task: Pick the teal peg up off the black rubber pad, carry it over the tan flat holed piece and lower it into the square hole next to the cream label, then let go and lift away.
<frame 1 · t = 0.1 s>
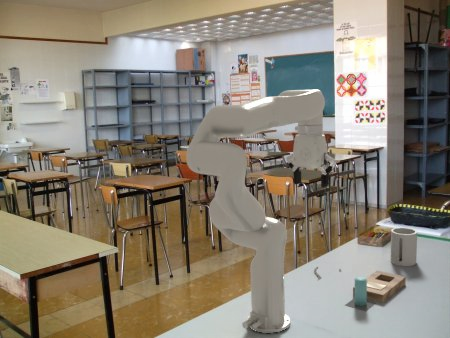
hand: (310, 185, 157), 37 cm above the table, tool pointing down, fingers open, 9 cm apart
cup: (403, 262, 190), on the table
pliers: (328, 279, 177), on the table
tan flat holed piece: (379, 290, 165), on the table
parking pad: (360, 305, 155), on the table
peg: (360, 304, 155), point 1 cm above the table, touching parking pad
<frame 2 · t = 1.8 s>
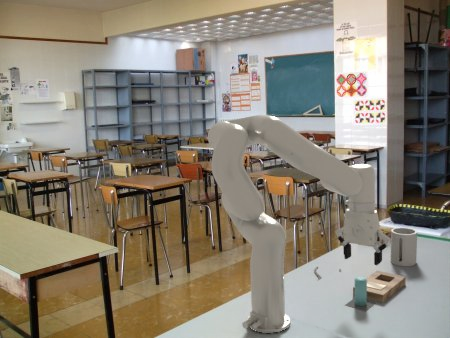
hand: (362, 260, 152), 14 cm above the table, tool pointing down, fingers open, 9 cm apart
nothing on the table moved.
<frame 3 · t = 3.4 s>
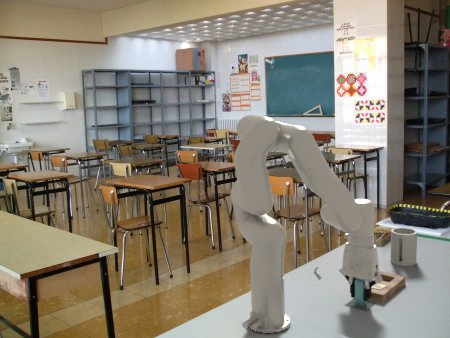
hand: (360, 297, 154), 3 cm above the table, tool pointing down, fingers closed on peg, 3 cm apart
peg: (360, 304, 155), point 1 cm above the table, touching gripper, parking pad
everything else where it was.
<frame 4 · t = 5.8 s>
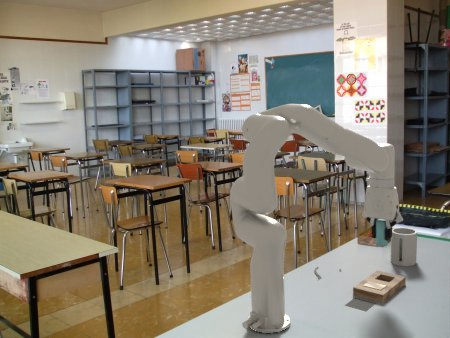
hand: (381, 237, 162), 18 cm above the table, tool pointing down, fingers closed on peg, 3 cm apart
peg: (381, 244, 163), point 16 cm above the table, touching gripper
everything else where it was.
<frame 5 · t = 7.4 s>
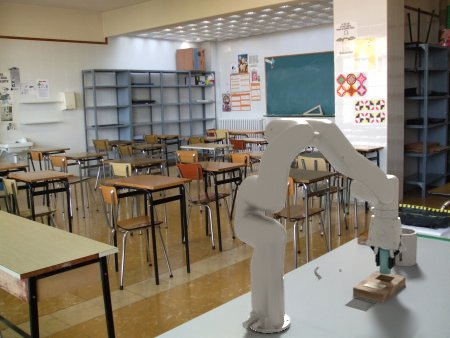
hand: (385, 266, 167), 7 cm above the table, tool pointing down, fingers closed on peg, 3 cm apart
peg: (385, 272, 167), point 5 cm above the table, touching gripper
everything else where it was.
when the fingers open (4 cm above the table, at t = 8.3 s): peg drops 2 cm, resting in tan flat holed piece.
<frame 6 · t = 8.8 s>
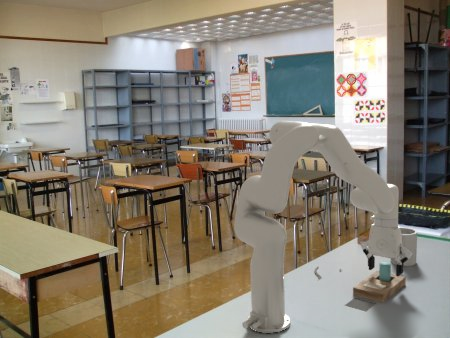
hand: (385, 271, 167), 5 cm above the table, tool pointing down, fingers open, 9 cm apart
peg: (384, 286, 168), resting in tan flat holed piece
everything else where it was.
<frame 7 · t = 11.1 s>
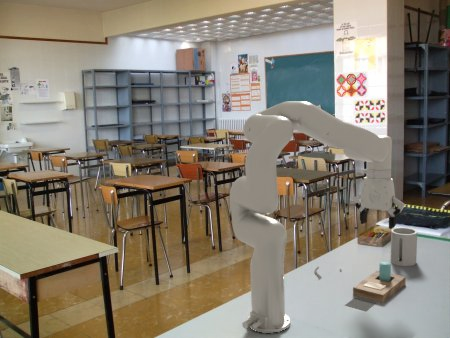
hand: (377, 225, 165), 21 cm above the table, tool pointing down, fingers open, 9 cm apart
nothing on the table moved.
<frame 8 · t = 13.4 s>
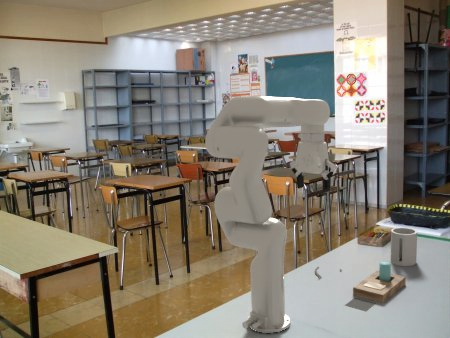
hand: (313, 189, 166), 33 cm above the table, tool pointing down, fingers open, 9 cm apart
nothing on the table moved.
at the end: peg 0.0 cm from the target spot on the tan flat holed piece, point 0.0 cm above the tan flat holed piece's base; peg tilted 0°; the gripper is holding nothing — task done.
